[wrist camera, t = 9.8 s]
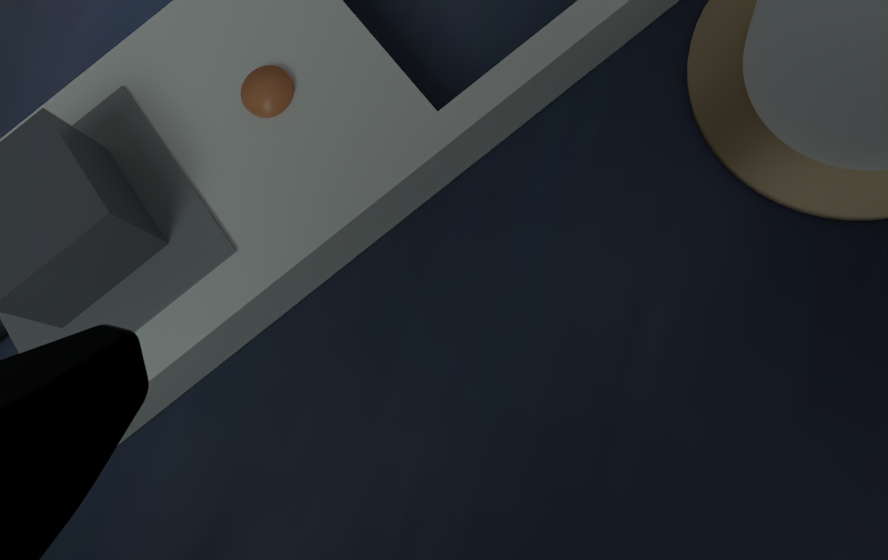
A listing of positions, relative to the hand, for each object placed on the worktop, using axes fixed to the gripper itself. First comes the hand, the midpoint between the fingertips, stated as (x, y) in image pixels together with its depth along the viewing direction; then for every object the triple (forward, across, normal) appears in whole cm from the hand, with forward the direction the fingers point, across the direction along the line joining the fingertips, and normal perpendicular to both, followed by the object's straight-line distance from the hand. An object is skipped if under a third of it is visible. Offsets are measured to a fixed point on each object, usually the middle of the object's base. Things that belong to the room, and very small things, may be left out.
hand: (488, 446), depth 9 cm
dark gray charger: (+10, +15, +6) cm, 19 cm away
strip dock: (+16, +10, +3) cm, 19 cm away
